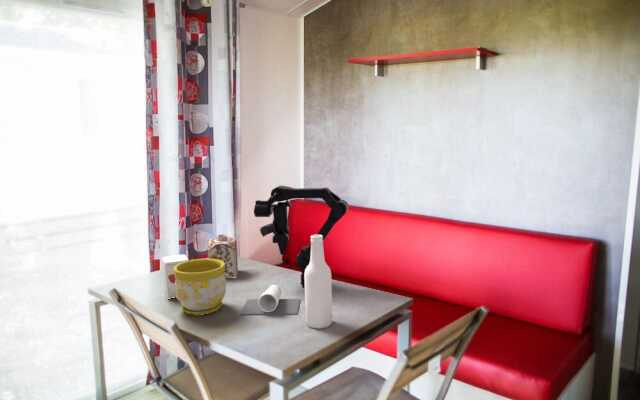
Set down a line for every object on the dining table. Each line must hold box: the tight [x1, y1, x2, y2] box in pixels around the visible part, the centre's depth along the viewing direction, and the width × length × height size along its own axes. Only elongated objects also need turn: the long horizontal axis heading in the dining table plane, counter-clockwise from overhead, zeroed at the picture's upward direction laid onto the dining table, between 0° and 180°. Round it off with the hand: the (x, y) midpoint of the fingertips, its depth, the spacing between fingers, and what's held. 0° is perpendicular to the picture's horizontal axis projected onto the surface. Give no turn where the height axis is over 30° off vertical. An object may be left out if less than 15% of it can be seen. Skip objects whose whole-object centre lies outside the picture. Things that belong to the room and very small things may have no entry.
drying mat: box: [239, 298, 301, 316], centre depth 179 cm, size 20×14×1 cm
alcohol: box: [304, 234, 333, 330], centre depth 161 cm, size 9×9×30 cm
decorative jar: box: [207, 233, 239, 279], centre depth 216 cm, size 12×12×18 cm
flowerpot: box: [174, 258, 227, 316], centre depth 177 cm, size 18×18×16 cm
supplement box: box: [161, 253, 189, 299], centre depth 193 cm, size 9×9×15 cm
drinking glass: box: [258, 284, 282, 312], centre depth 179 cm, size 7×7×15 cm
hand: (282, 254), depth 201 cm, fingers closed
